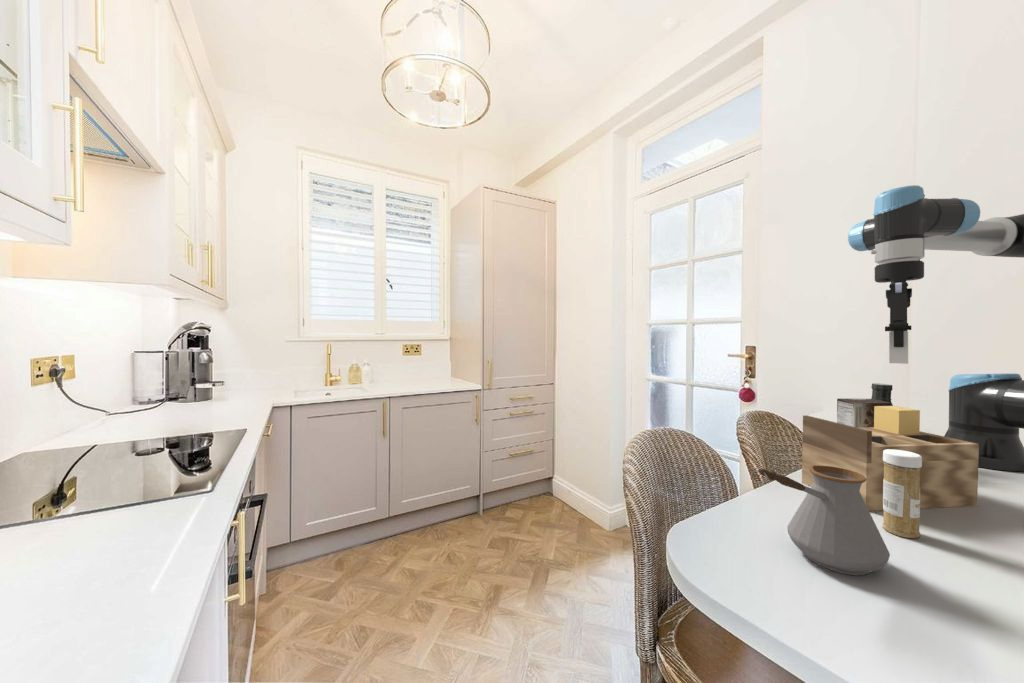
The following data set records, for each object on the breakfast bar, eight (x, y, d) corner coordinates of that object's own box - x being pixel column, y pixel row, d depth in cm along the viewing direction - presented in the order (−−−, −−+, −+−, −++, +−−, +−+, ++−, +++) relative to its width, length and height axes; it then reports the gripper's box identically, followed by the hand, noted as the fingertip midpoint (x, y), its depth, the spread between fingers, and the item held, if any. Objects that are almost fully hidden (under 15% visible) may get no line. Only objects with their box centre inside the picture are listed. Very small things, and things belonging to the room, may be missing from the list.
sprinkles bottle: (927, 541, 61) (929, 457, 61) (892, 536, 63) (893, 455, 63) (908, 527, 66) (909, 449, 66) (875, 523, 67) (876, 447, 67)
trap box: (897, 478, 88) (899, 413, 88) (977, 505, 74) (979, 428, 74) (801, 482, 86) (803, 415, 86) (865, 511, 72) (867, 431, 72)
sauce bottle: (868, 458, 102) (869, 384, 102) (857, 452, 108) (859, 381, 108) (900, 462, 100) (902, 385, 99) (888, 455, 106) (889, 383, 105)
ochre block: (893, 427, 87) (894, 405, 87) (919, 433, 82) (919, 410, 82) (873, 428, 86) (874, 406, 86) (898, 434, 81) (899, 410, 81)
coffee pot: (820, 533, 64) (821, 443, 64) (909, 574, 53) (912, 466, 53) (719, 556, 57) (721, 456, 57) (798, 609, 46) (801, 485, 46)
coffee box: (871, 458, 103) (872, 398, 103) (892, 466, 97) (894, 402, 96) (834, 457, 104) (835, 397, 104) (853, 465, 97) (854, 401, 97)
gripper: (877, 270, 94) (877, 356, 94) (871, 258, 77) (871, 364, 77) (922, 265, 89) (922, 357, 89) (926, 251, 71) (927, 366, 72)
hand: (899, 361), depth 83 cm, fingers open, 13 cm apart
